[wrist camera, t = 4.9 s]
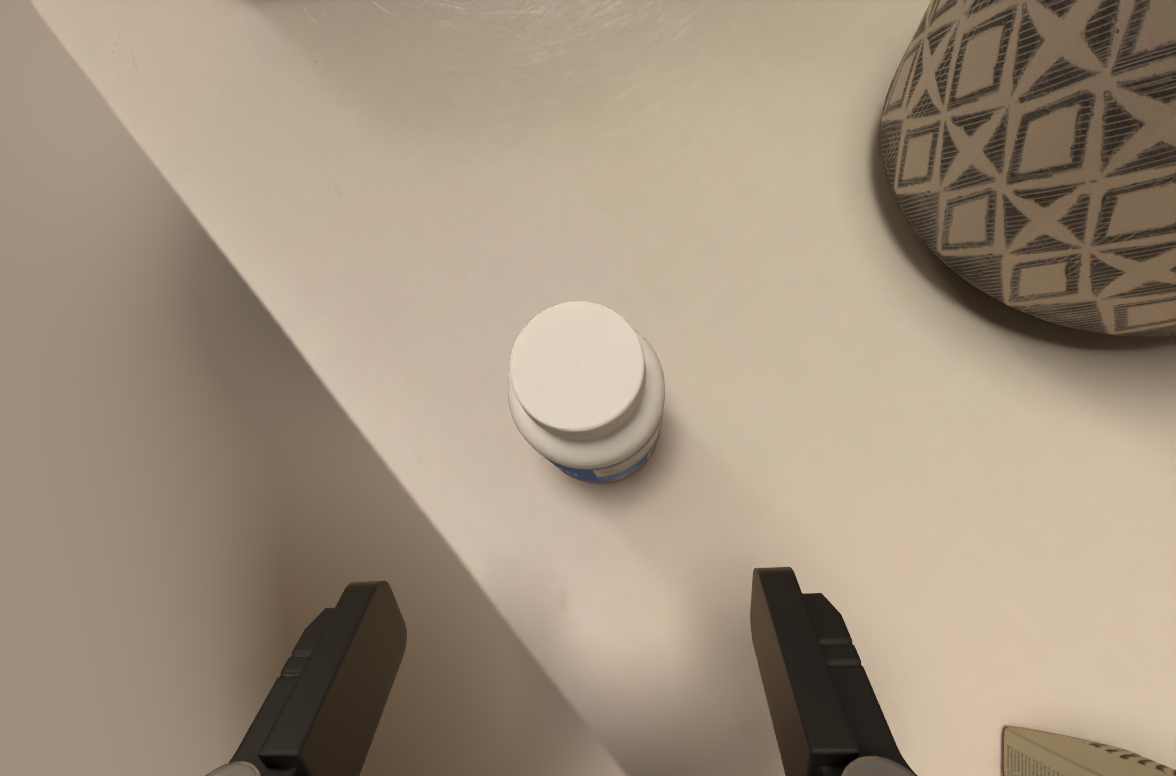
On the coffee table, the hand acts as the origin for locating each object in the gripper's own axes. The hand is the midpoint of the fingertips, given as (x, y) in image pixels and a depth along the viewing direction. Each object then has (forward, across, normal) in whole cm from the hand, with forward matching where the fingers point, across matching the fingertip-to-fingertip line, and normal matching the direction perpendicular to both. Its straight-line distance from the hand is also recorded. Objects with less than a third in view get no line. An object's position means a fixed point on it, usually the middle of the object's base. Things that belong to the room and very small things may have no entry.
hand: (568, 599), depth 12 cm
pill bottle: (+13, 0, +4) cm, 14 cm away
